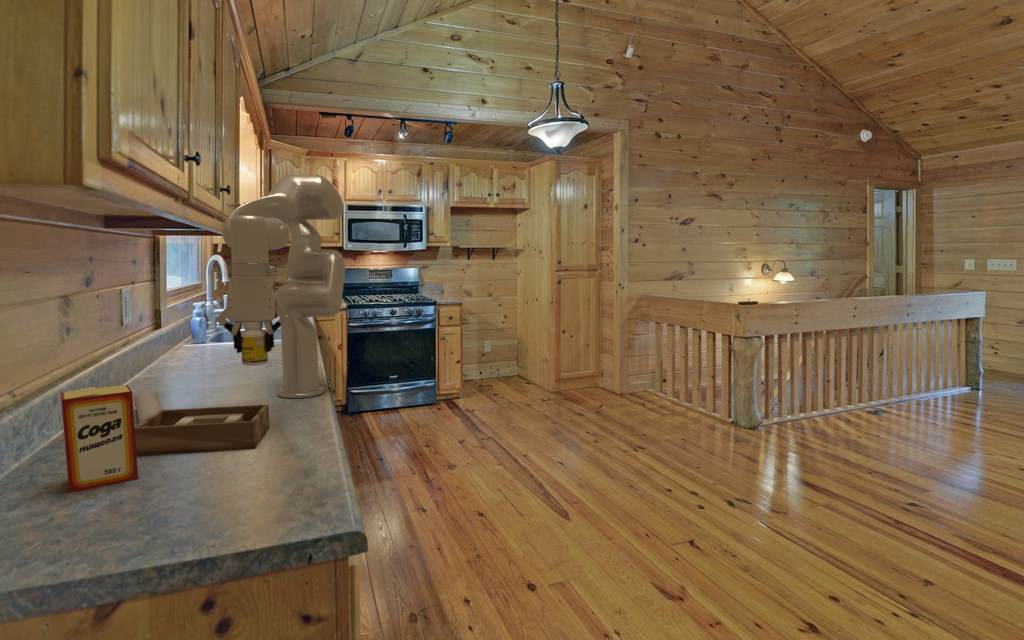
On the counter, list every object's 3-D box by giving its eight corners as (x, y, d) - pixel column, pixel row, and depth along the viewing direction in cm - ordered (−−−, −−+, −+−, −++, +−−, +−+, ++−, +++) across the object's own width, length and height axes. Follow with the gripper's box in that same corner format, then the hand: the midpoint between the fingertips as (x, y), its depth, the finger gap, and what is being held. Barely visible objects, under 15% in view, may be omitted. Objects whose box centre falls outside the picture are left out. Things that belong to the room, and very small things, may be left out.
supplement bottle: (236, 364, 127) (234, 321, 126) (258, 361, 132) (256, 319, 131) (251, 366, 125) (249, 322, 124) (273, 363, 129) (271, 320, 128)
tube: (170, 413, 126) (161, 391, 147) (142, 409, 123) (137, 387, 143) (162, 436, 126) (155, 411, 146) (135, 433, 123) (131, 408, 143)
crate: (162, 434, 123) (160, 410, 123) (269, 428, 128) (268, 404, 127) (133, 456, 110) (131, 428, 109) (255, 448, 114) (253, 422, 114)
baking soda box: (133, 468, 103) (127, 382, 102) (138, 478, 98) (131, 388, 97) (67, 481, 97) (60, 390, 96) (69, 492, 92) (61, 397, 91)
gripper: (293, 271, 132) (296, 347, 133) (214, 271, 128) (218, 350, 130) (288, 271, 124) (291, 352, 126) (203, 271, 121) (208, 355, 122)
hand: (254, 350), depth 128 cm, fingers closed on supplement bottle, 5 cm apart
